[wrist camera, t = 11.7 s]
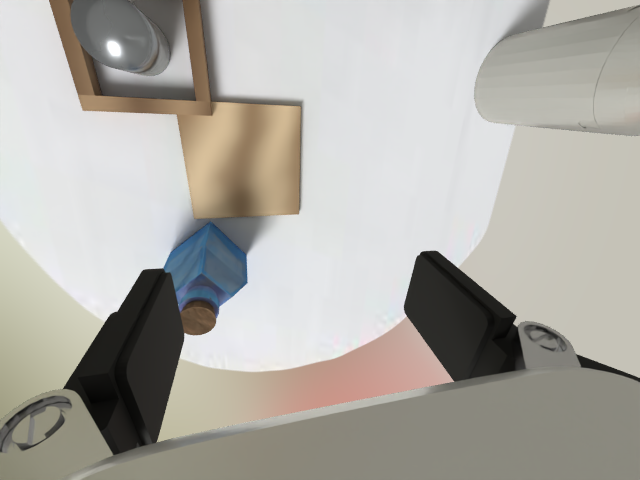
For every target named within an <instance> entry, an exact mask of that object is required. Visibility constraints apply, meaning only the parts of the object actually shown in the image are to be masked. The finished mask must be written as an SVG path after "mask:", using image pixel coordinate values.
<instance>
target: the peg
mask: <svg viewBox="0 0 640 480" xmlns="http://www.w3.org/2000/svg"><path fill="white" fill-rule="evenodd" d="M70 17H71V24H72V28H73V30H74V33H75V35H76V37H77V39H78V41H79V42H80V44H81V45H82V47H83V48H84V49H85V50H86V51H87V52H88V53H89V54H90V55H91V56H92V57H93V58H94V59H96V60H97V61H99V62H100V63H102V64H104V65H106V66H109V67H111V68H115V69H119V70H123V71H127V72H131V73H135V74H140V75H144V76H155V75H158V74H160V73H162V72H163V71H164V70H165V69H166V68H167V66H168V64H169V61H170V48H169V44H168V41H167V39H166V37H165V35H164V34H163V32H162V31H161V30H160V28H159V27H158V26H157V25H156V24H155V23H153V22H152V21H151V20H150V19H149V18H148V17H147V16H145V15H144V14H143V13H142V12H141V11H140V10H139V9H137V8H136V7H135V6H134V5H133V4H132V3H131V2H129V1H128V0H73V3H72V5H71V12H70Z"/></svg>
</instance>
